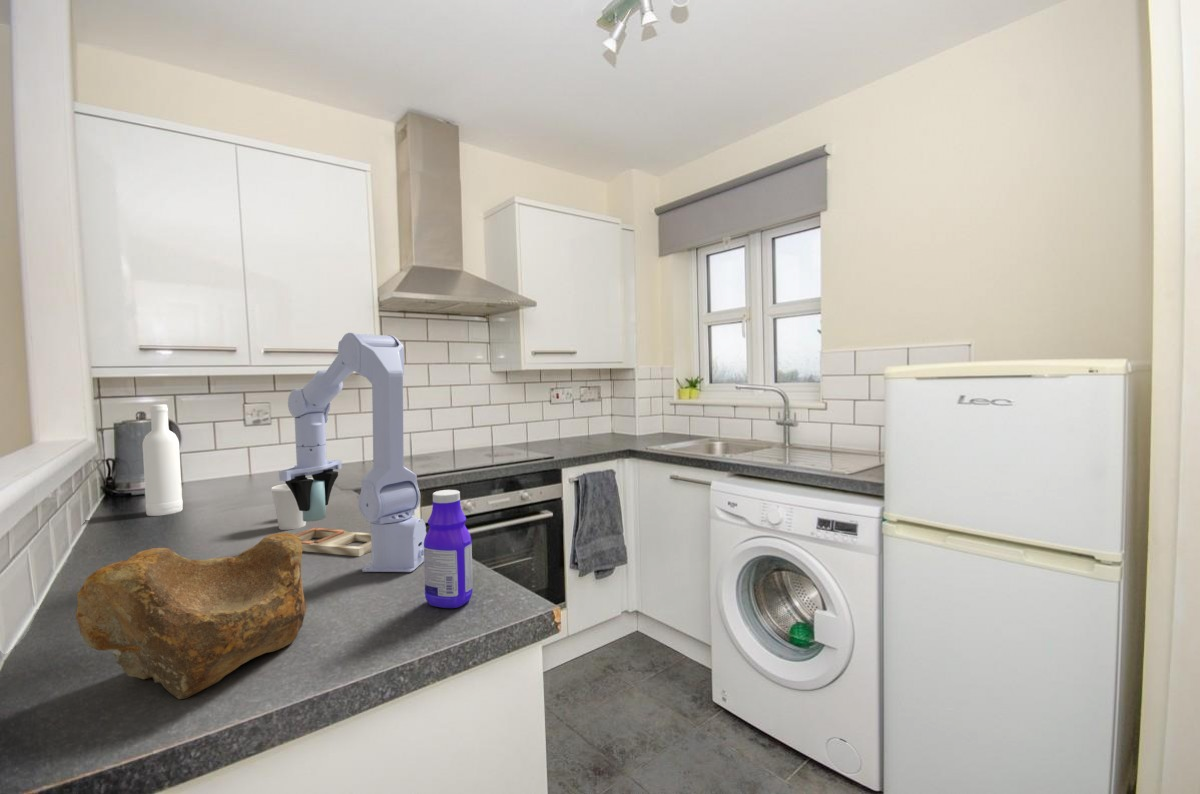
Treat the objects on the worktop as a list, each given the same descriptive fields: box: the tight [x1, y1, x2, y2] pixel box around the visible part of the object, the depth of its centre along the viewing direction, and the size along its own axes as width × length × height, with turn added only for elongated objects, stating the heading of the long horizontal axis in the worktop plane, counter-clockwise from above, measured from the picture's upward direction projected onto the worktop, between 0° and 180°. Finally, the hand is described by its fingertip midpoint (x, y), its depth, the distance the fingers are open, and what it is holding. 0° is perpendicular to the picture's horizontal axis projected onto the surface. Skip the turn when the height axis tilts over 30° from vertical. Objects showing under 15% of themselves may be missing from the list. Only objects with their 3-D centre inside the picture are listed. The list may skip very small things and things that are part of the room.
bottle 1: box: [141, 403, 184, 517], centre depth 145 cm, size 8×8×30 cm
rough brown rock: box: [75, 532, 307, 700], centre depth 64 cm, size 23×17×15 cm
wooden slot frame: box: [294, 527, 371, 557], centre depth 112 cm, size 21×10×2 cm, turn 73°
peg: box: [302, 480, 327, 523], centre depth 114 cm, size 4×4×8 cm
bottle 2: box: [423, 489, 473, 609], centre depth 82 cm, size 7×6×17 cm
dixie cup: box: [270, 483, 307, 531], centre depth 128 cm, size 8×8×10 cm
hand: (313, 507), depth 114 cm, fingers closed on peg, 4 cm apart
